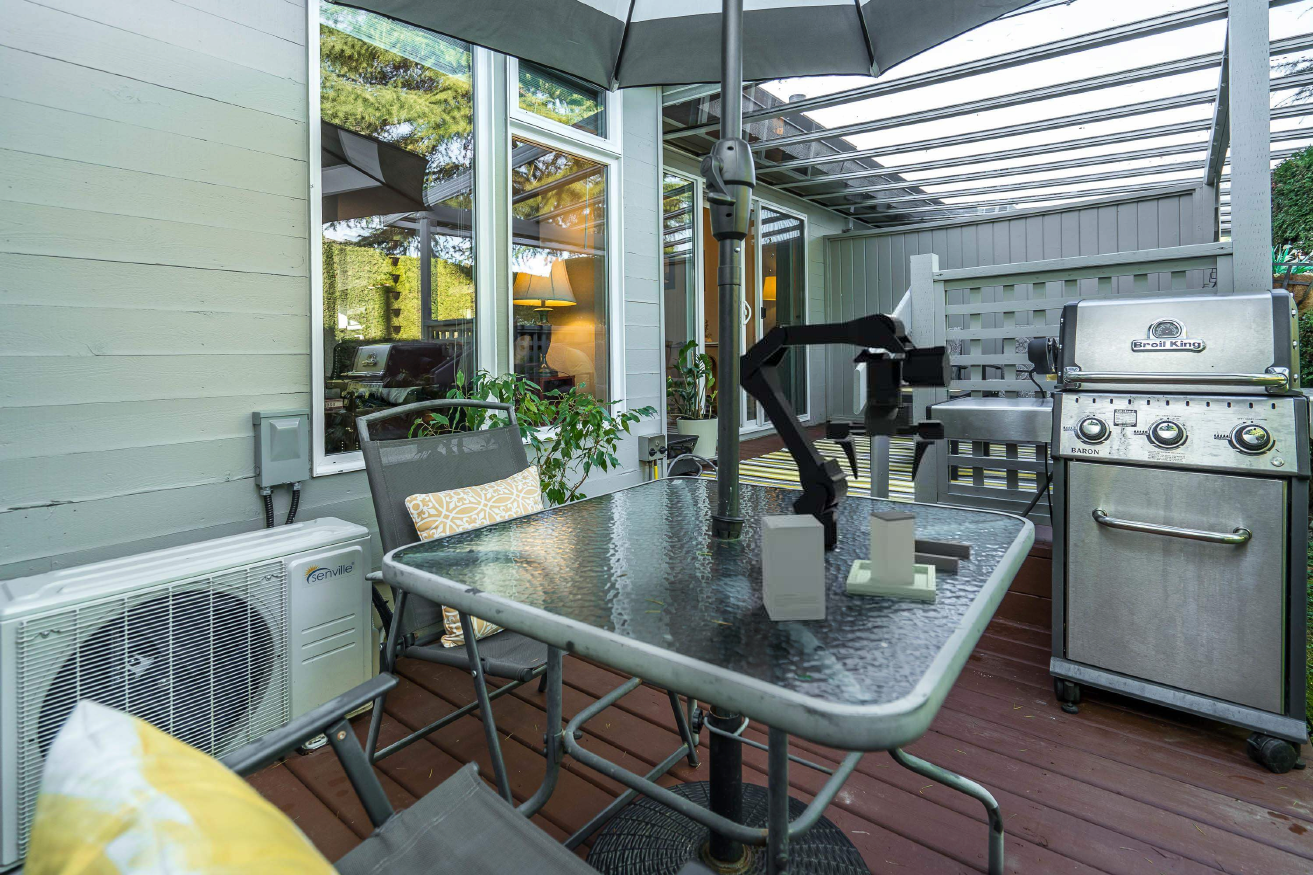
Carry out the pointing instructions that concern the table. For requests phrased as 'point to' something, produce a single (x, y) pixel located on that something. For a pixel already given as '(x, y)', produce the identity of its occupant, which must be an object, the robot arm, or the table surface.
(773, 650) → the table surface
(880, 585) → the tray
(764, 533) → the supplement box
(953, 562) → the cradle
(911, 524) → the tall cream pillar
